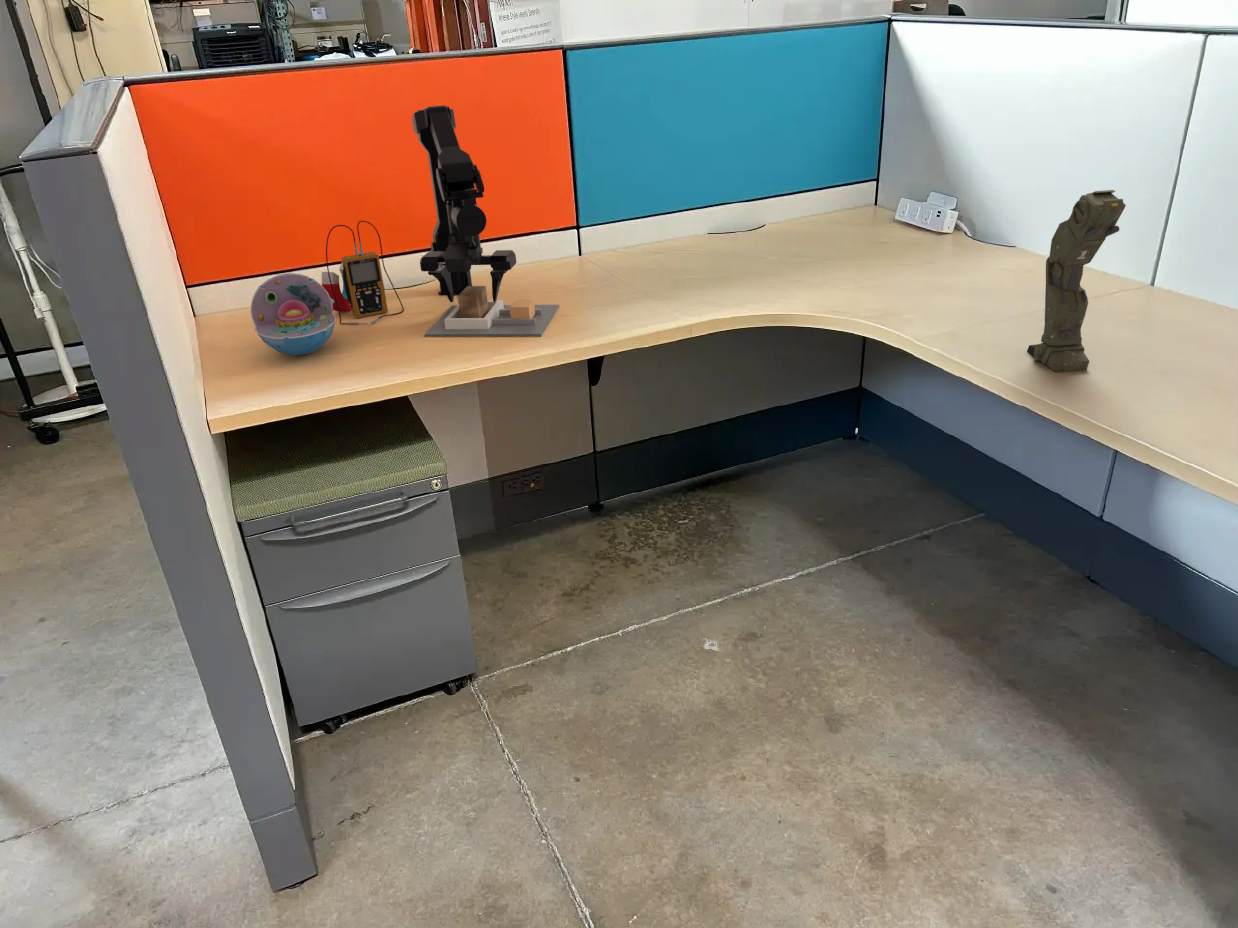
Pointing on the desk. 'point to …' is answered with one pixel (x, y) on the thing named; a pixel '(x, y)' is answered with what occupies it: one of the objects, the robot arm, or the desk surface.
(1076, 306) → the mechanical leg
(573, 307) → the desk surface
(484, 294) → the block
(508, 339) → the desk surface
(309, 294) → the educational model
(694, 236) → the desk surface
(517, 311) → the block
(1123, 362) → the desk surface
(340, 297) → the magnet
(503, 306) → the grey base board
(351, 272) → the multimeter
